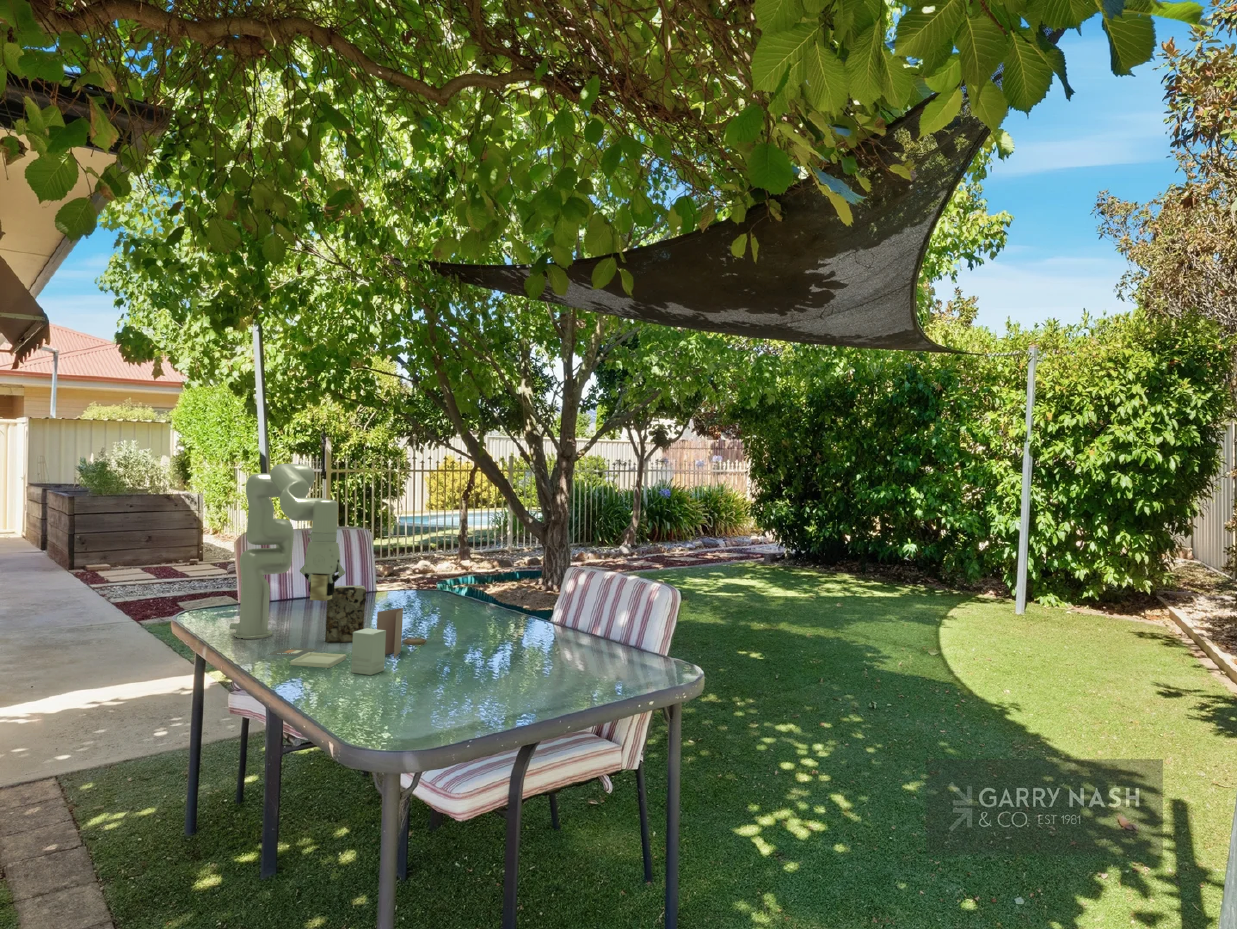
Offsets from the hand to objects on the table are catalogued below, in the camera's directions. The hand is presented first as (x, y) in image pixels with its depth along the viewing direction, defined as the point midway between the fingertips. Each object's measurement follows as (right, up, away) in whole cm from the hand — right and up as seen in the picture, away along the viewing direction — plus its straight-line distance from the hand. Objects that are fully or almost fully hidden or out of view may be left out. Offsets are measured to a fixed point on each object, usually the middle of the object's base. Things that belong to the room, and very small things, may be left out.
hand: (321, 594), depth 253 cm
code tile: (-14, -21, +11) cm, 28 cm away
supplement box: (+18, -23, -9) cm, 30 cm away
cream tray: (-1, -22, -1) cm, 22 cm away
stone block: (-3, -22, +31) cm, 38 cm away
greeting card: (+19, -23, +14) cm, 33 cm away
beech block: (0, -2, 0) cm, 2 cm away
